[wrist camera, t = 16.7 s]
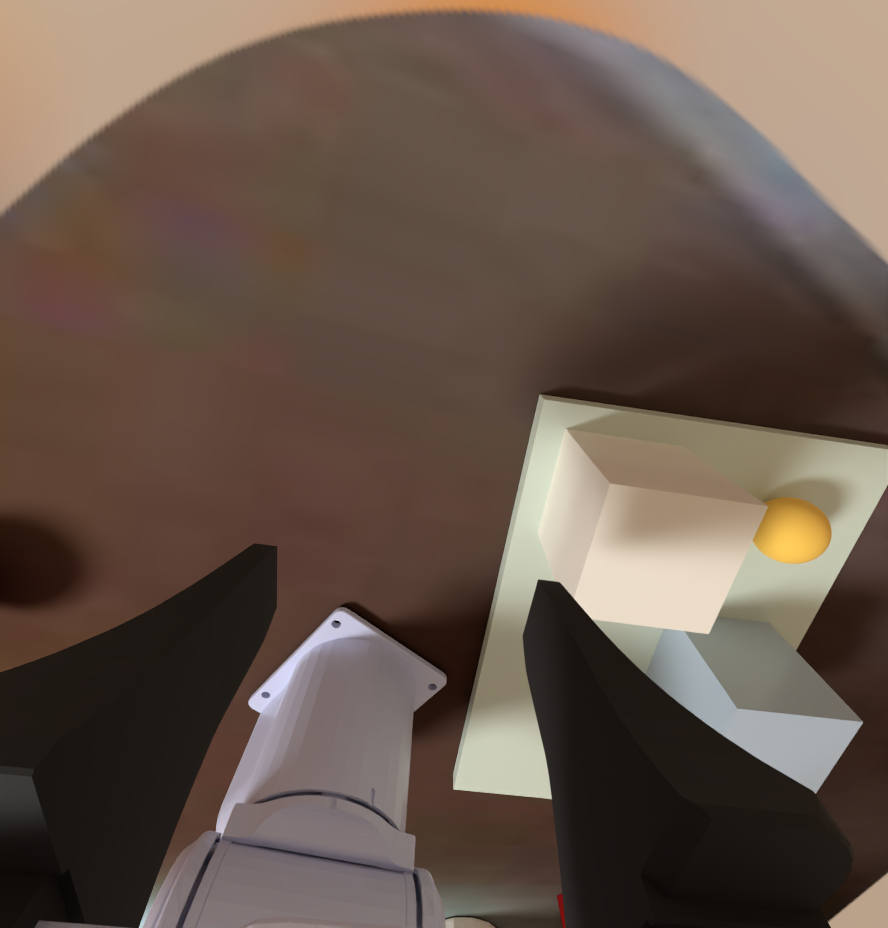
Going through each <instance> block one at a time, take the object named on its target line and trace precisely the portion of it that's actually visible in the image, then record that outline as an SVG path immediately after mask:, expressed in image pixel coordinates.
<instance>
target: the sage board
mask: <svg viewBox="0 0 888 928" xmlns="http://www.w3.org/2000/svg"><path fill="white" fill-rule="evenodd" d="M565 429H571V430H577V431H584V432H591V433H597V434H604V435H611V436H617V437H624V438H631V439H637V440H644V441H650V442H657V443H664V444H670V445H677V446H683V447H684V448H686V449H687V450H689V451H690V452H691V453H693V454H694V455H696V456H697V457H699V458H700V459H701V460H703V461H704V462H706V463H707V464H709V465H710V466H711V467H713V468H714V469H716V470H717V471H719V472H720V473H721V474H723V475H724V476H726V477H727V478H729V479H730V480H731V481H733V482H734V483H736V484H737V485H739V486H740V487H741V488H743V489H744V490H746V491H747V492H749V493H750V494H751V495H753V496H754V497H756V498H757V499H759V500H760V501H761V502H763V503H765V502H767V501H769V500H772V499H776V498H781V497H792V498H799V499H802V500H805V501H808V502H810V503H812V504H813V505H815V506H816V507H818V508H819V509H820V510H821V511H822V512H823V513H824V514H825V515H826V517H827V518H828V520H829V523H830V525H831V531H832V537H831V541H830V544H829V546H828V548H827V549H826V550H825V552H824V553H823V554H821V555H820V556H819V557H817V558H816V559H814V560H812V561H809V562H805V563H800V564H788V563H782V562H779V561H776V560H773V559H771V558H769V557H768V556H766V555H765V554H763V553H762V552H761V551H760V550H759V549H758V548H757V547H756V546H755V544H754V543H753V541H752V543H751V545H750V547H749V549H748V551H747V553H746V556H745V558H744V560H743V562H742V564H741V566H740V568H739V571H738V573H737V575H736V577H735V579H734V581H733V583H732V586H731V588H730V590H729V592H728V594H727V596H726V599H725V601H724V603H723V605H722V607H721V609H720V611H719V614H718V616H717V617H724V618H733V619H741V620H750V621H758V622H767V623H770V624H771V625H772V626H773V627H774V628H775V629H776V630H777V631H778V633H779V634H780V635H781V636H782V637H783V638H784V639H785V640H786V641H787V642H788V643H789V644H790V645H791V646H792V647H793V648H794V649H795V650H797V648H798V646H799V644H800V642H801V641H802V639H803V637H804V635H805V633H806V632H807V630H808V628H809V626H810V624H811V622H812V621H813V619H814V617H815V615H816V613H817V612H818V610H819V608H820V606H821V604H822V603H823V601H824V599H825V597H826V595H827V594H828V592H829V590H830V588H831V586H832V585H833V583H834V581H835V579H836V577H837V576H838V574H839V572H840V570H841V568H842V566H843V565H844V563H845V561H846V559H847V557H848V556H849V554H850V552H851V550H852V548H853V547H854V545H855V543H856V541H857V539H858V538H859V536H860V534H861V532H862V530H863V529H864V527H865V525H866V523H867V521H868V520H869V518H870V516H871V514H872V512H873V510H874V509H875V507H876V505H877V503H878V501H879V500H880V498H881V496H882V494H883V492H884V491H885V489H886V487H887V485H888V445H884V444H877V443H870V442H863V441H856V440H850V439H843V438H836V437H829V436H822V435H815V434H809V433H802V432H795V431H788V430H781V429H774V428H768V427H761V426H754V425H747V424H740V423H733V422H726V421H720V420H713V419H706V418H699V417H692V416H685V415H679V414H672V413H665V412H658V411H651V410H644V409H638V408H631V407H624V406H617V405H610V404H603V403H597V402H590V401H583V400H576V399H569V398H562V397H556V396H549V395H542V394H540V395H539V399H538V403H537V408H536V412H535V417H534V421H533V425H532V430H531V434H530V439H529V443H528V447H527V452H526V456H525V461H524V465H523V469H522V474H521V478H520V483H519V487H518V491H517V496H516V500H515V505H514V509H513V513H512V518H511V522H510V527H509V531H508V535H507V540H506V544H505V549H504V553H503V557H502V562H501V566H500V570H499V575H498V579H497V584H496V588H495V592H494V597H493V601H492V606H491V610H490V614H489V619H488V623H487V628H486V632H485V636H484V641H483V645H482V650H481V654H480V658H479V663H478V667H477V672H476V676H475V680H474V685H473V689H472V694H471V698H470V702H469V707H468V711H467V716H466V720H465V724H464V729H463V733H462V738H461V742H460V746H459V751H458V755H457V760H456V764H455V768H454V773H453V788H454V789H455V790H466V791H476V792H486V793H496V794H506V795H517V796H527V797H537V798H547V799H552V796H551V788H550V781H549V774H548V768H547V762H546V757H545V752H544V748H543V743H542V739H541V735H540V730H539V726H538V722H537V718H536V713H535V709H534V705H533V700H532V696H531V692H530V687H529V683H528V678H527V674H526V667H525V658H524V647H523V632H524V629H525V625H526V621H527V618H528V614H529V610H530V607H531V603H532V600H533V596H534V592H535V589H536V585H537V581H538V579H540V580H548V581H555V579H554V577H553V574H552V571H551V568H550V566H549V563H548V560H547V558H546V555H545V552H544V549H543V547H542V544H541V541H540V539H539V536H538V531H539V527H540V524H541V520H542V516H543V512H544V509H545V505H546V501H547V497H548V493H549V490H550V486H551V482H552V478H553V475H554V471H555V467H556V463H557V459H558V456H559V452H560V448H561V444H562V441H563V437H564V433H565ZM592 620H593V619H592ZM593 621H594V622H595V623H596V624H597V626H598V627H599V628H600V629H601V630H602V631H603V632H604V633H605V634H606V636H607V637H608V638H609V639H610V640H611V641H612V642H613V643H614V644H615V645H616V646H617V647H618V648H619V649H620V650H621V651H622V652H623V653H624V654H625V655H626V656H627V657H628V658H629V659H630V660H631V661H632V662H633V663H634V664H635V665H636V666H637V667H638V668H639V669H640V670H641V671H642V672H643V673H644V674H646V672H647V669H648V667H649V664H650V662H651V659H652V657H653V654H654V652H655V649H656V647H657V644H658V642H659V639H660V637H661V634H662V632H663V629H664V628H656V627H648V626H640V625H632V624H625V623H617V622H609V621H601V620H593Z"/></svg>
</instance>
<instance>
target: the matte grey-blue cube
mask: <svg viewBox="0 0 888 928" xmlns="http://www.w3.org/2000/svg"><path fill="white" fill-rule="evenodd" d="M646 675H647V676H648V677H649V678H650V679H651V680H652V681H654V682H655V683H656V684H657V685H658V686H659V687H660V688H662V689H663V690H664V691H665V692H666V693H667V694H669V695H670V696H671V697H672V698H674V699H675V700H676V701H677V702H678V703H680V704H681V705H682V706H684V707H685V708H686V709H688V710H689V711H690V712H691V713H693V714H694V715H695V716H697V717H698V718H699V719H701V720H702V721H703V722H705V723H706V724H707V725H709V726H710V727H712V728H713V729H714V730H716V731H717V732H719V733H720V734H722V735H723V736H724V737H726V738H727V739H729V740H730V741H732V742H733V743H735V744H736V745H738V746H740V747H741V748H743V749H744V750H746V751H747V752H749V753H750V754H752V755H753V756H755V757H756V758H758V759H760V760H761V761H763V762H764V763H766V764H768V765H770V766H771V767H773V768H775V769H776V770H778V771H780V772H782V773H783V774H785V775H787V776H788V777H790V778H792V779H793V780H795V781H797V782H799V783H800V784H802V785H804V786H805V787H807V788H809V789H810V790H812V791H814V793H815V794H816V792H817V791H818V789H819V788H820V786H821V785H822V783H823V782H824V780H825V779H826V777H827V776H828V774H829V773H830V771H831V770H832V768H833V767H834V765H835V764H836V762H837V761H838V759H839V758H840V756H841V755H842V753H843V752H844V750H845V749H846V747H847V746H848V744H849V743H850V741H851V740H852V738H853V737H854V735H855V734H856V732H857V731H858V729H859V728H860V726H861V725H862V723H863V721H862V720H861V719H860V718H859V717H858V716H857V715H856V714H855V713H854V712H853V711H852V710H851V709H850V707H849V706H848V705H847V704H846V703H845V702H844V701H843V700H842V699H841V698H840V697H839V696H838V695H837V694H836V693H835V692H834V691H833V690H832V688H831V687H830V686H829V685H828V684H827V683H826V682H825V681H824V680H823V679H822V678H821V677H820V676H819V675H818V674H817V673H816V672H815V671H814V669H813V668H812V667H811V666H810V665H809V664H808V663H807V662H806V661H805V660H804V659H803V658H802V657H801V656H800V655H799V654H798V653H797V652H796V650H795V649H794V648H793V647H792V646H791V645H790V644H789V643H788V642H787V641H786V640H785V639H784V638H783V637H782V636H781V635H780V634H779V633H778V631H777V630H776V629H775V628H774V627H773V626H772V625H771V624H770V623H767V622H758V621H750V620H741V619H733V618H724V617H717V618H716V620H715V622H714V624H713V626H712V629H711V631H710V633H709V634H703V633H696V632H688V631H680V630H672V629H663V632H662V634H661V637H660V639H659V642H658V644H657V647H656V649H655V652H654V654H653V657H652V659H651V662H650V664H649V667H648V669H647V672H646Z"/></svg>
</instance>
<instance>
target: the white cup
mask: <svg viewBox="0 0 888 928" xmlns="http://www.w3.org/2000/svg"><path fill="white" fill-rule="evenodd" d="M445 924H446V928H496V927H494V926H493V925H492V924H490V923H489V922H486V921H483V920H480V919H476V918H472V917H454V918H449V919H445Z"/></svg>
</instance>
